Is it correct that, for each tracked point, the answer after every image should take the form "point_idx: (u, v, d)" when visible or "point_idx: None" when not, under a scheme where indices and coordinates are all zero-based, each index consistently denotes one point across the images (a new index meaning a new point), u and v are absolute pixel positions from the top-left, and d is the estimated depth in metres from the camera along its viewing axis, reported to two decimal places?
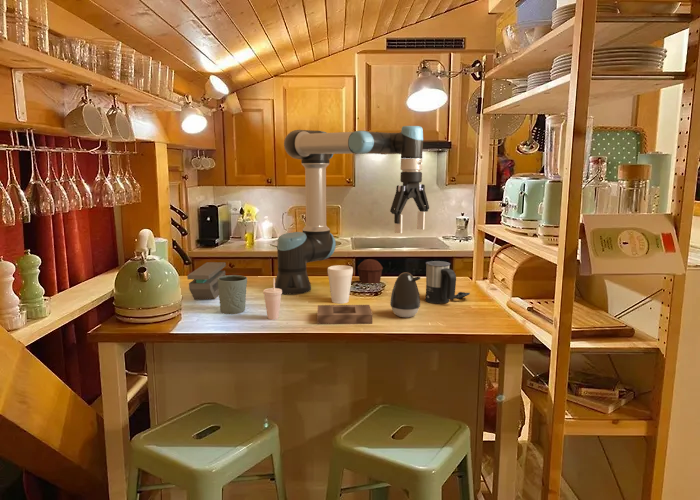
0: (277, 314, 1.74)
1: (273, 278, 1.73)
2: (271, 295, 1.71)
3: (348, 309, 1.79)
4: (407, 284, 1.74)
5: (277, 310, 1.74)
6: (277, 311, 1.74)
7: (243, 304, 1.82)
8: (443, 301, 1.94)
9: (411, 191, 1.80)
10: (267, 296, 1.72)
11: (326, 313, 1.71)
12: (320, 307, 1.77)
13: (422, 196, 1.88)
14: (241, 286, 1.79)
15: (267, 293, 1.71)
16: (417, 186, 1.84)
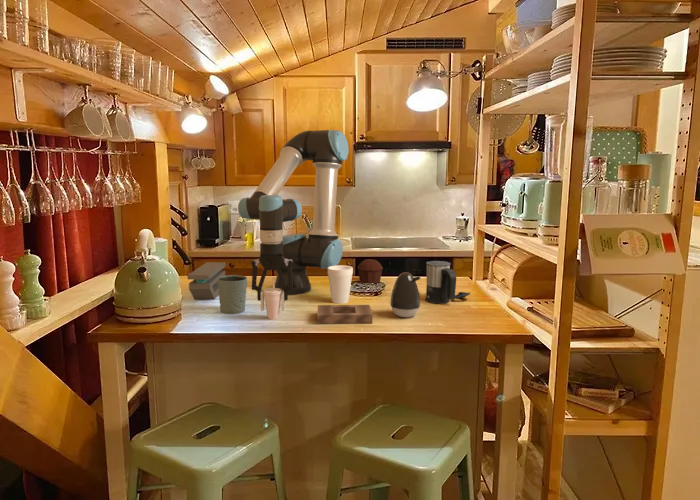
0: (277, 314, 1.74)
1: (273, 278, 1.73)
2: (271, 295, 1.71)
3: (348, 309, 1.79)
4: (407, 284, 1.74)
5: (277, 310, 1.74)
6: (277, 311, 1.74)
7: (243, 304, 1.82)
8: (443, 301, 1.94)
9: (265, 264, 1.70)
10: (267, 296, 1.72)
11: (326, 313, 1.71)
12: (320, 307, 1.77)
13: (287, 272, 1.73)
14: (241, 286, 1.79)
15: (267, 293, 1.71)
16: (279, 258, 1.71)
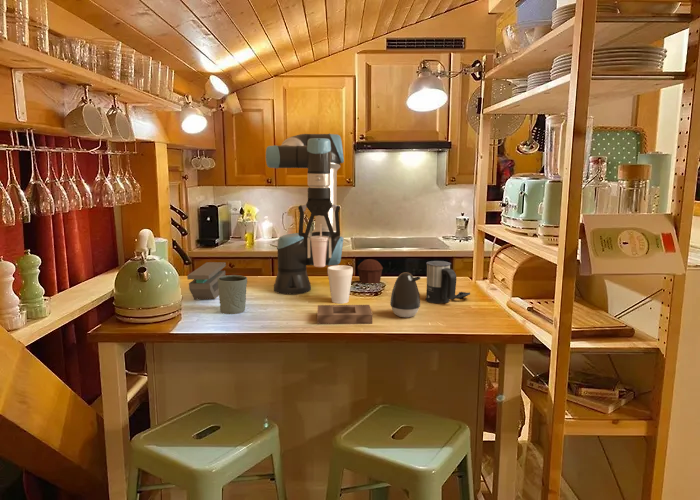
0: (324, 261, 1.70)
1: (320, 224, 1.69)
2: (318, 241, 1.68)
3: (348, 309, 1.79)
4: (407, 284, 1.74)
5: (324, 257, 1.70)
6: (324, 258, 1.70)
7: (243, 304, 1.82)
8: (443, 301, 1.94)
9: (313, 209, 1.67)
10: (314, 242, 1.68)
11: (326, 313, 1.71)
12: (320, 307, 1.77)
13: (335, 218, 1.69)
14: (241, 286, 1.79)
15: (314, 239, 1.68)
16: (327, 203, 1.67)
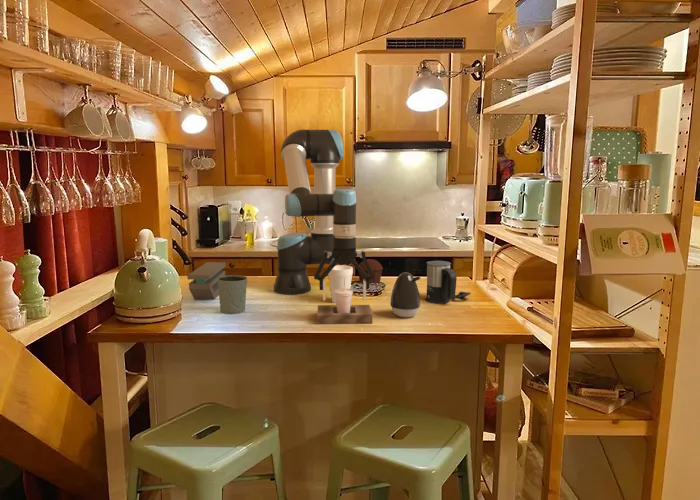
0: None
1: (344, 279, 1.72)
2: (343, 296, 1.71)
3: None
4: (407, 284, 1.74)
5: (348, 310, 1.73)
6: (348, 311, 1.73)
7: (243, 304, 1.82)
8: (444, 301, 1.94)
9: (337, 258, 1.70)
10: (339, 297, 1.71)
11: (326, 313, 1.71)
12: (320, 307, 1.77)
13: None
14: (241, 286, 1.79)
15: (339, 294, 1.71)
16: (351, 253, 1.70)
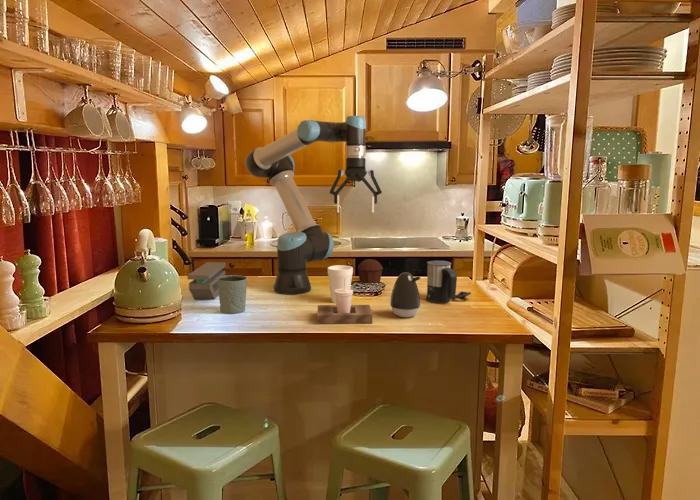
0: None
1: (344, 278, 1.72)
2: (343, 295, 1.71)
3: None
4: (407, 284, 1.74)
5: (348, 310, 1.73)
6: (348, 311, 1.73)
7: (243, 304, 1.82)
8: (444, 300, 1.95)
9: (350, 175, 1.99)
10: (339, 297, 1.71)
11: (326, 313, 1.71)
12: (320, 307, 1.77)
13: (373, 181, 2.01)
14: (241, 286, 1.79)
15: (339, 293, 1.71)
16: (362, 171, 2.00)
